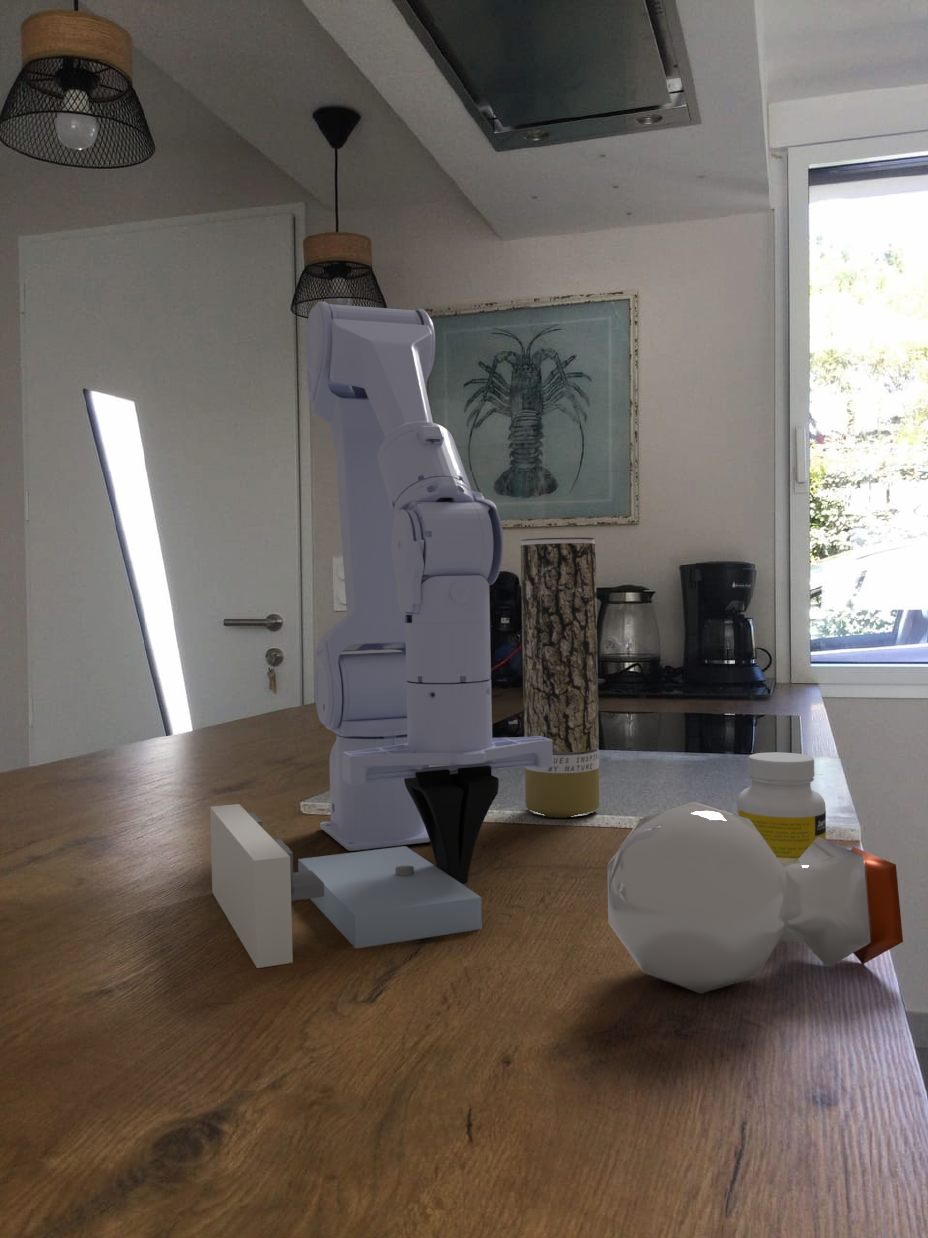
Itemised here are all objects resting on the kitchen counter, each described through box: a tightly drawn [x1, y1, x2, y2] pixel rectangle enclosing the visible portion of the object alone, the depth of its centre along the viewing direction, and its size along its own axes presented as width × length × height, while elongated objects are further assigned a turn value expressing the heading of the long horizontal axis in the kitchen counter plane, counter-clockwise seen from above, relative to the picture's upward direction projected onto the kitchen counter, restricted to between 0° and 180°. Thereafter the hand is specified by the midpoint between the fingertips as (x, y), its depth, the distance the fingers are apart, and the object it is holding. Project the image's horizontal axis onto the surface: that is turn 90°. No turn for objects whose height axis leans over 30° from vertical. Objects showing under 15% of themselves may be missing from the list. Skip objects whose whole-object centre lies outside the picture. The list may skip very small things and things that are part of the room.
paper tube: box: [520, 537, 600, 819], centre depth 97 cm, size 7×7×25 cm
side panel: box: [209, 803, 324, 969], centre depth 67 cm, size 16×4×6 cm, turn 22°
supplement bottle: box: [736, 751, 827, 859], centre depth 67 cm, size 5×5×10 cm
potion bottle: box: [607, 801, 904, 994], centre depth 56 cm, size 9×10×15 cm
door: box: [297, 845, 483, 949], centre depth 69 cm, size 14×8×3 cm, turn 22°
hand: (452, 881), depth 71 cm, fingers closed
